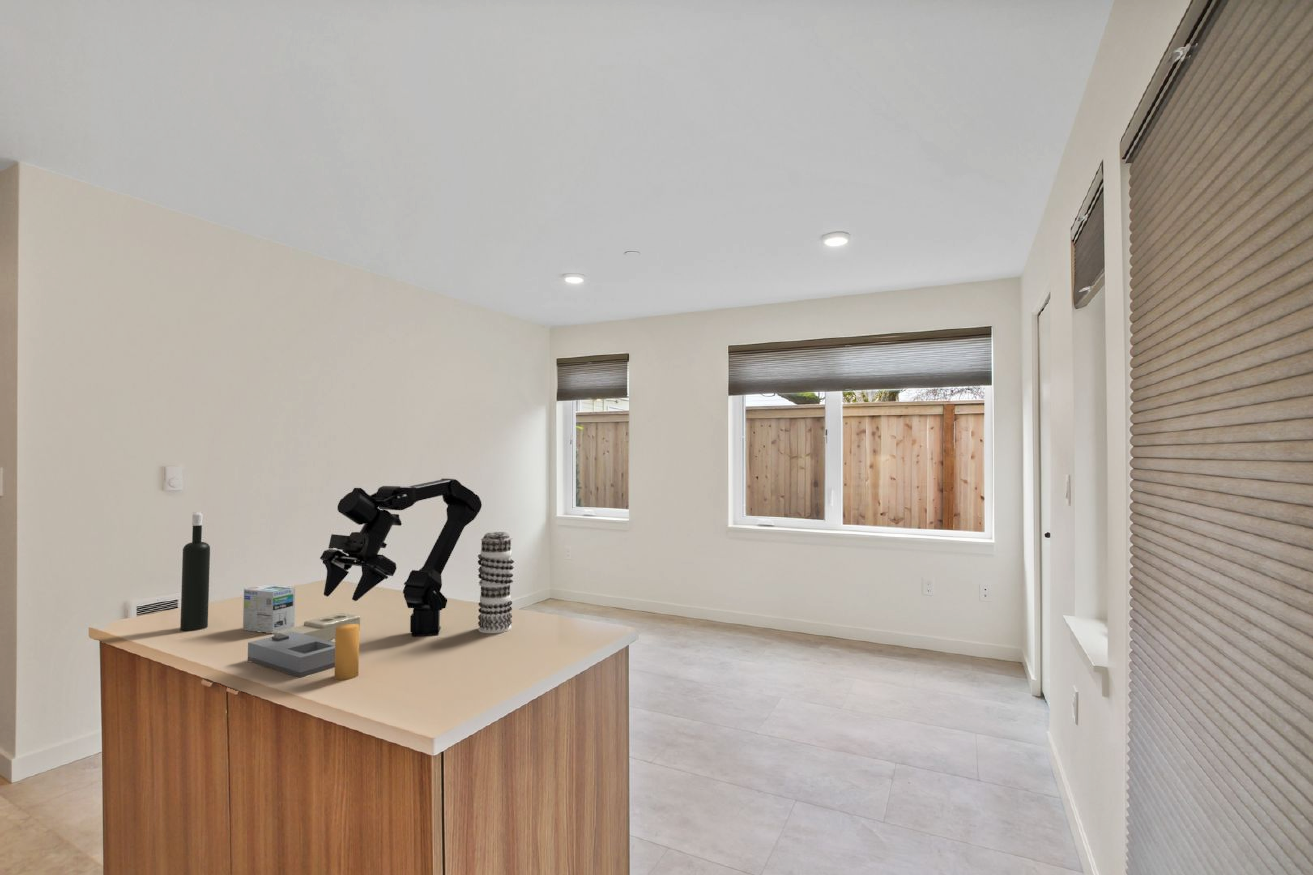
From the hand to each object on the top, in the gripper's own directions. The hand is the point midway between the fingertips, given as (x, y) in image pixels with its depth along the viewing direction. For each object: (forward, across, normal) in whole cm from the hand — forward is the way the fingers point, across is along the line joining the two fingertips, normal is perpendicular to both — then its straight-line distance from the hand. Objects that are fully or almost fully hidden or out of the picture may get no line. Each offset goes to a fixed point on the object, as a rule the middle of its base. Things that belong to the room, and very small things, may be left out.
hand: (339, 598), depth 138 cm
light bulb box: (+7, -38, +15) cm, 42 cm away
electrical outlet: (+7, -19, +15) cm, 26 cm away
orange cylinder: (+14, +10, +3) cm, 18 cm away
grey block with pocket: (+14, -7, +4) cm, 16 cm away
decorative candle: (-8, +13, +38) cm, 41 cm away
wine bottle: (+11, -56, +8) cm, 58 cm away
